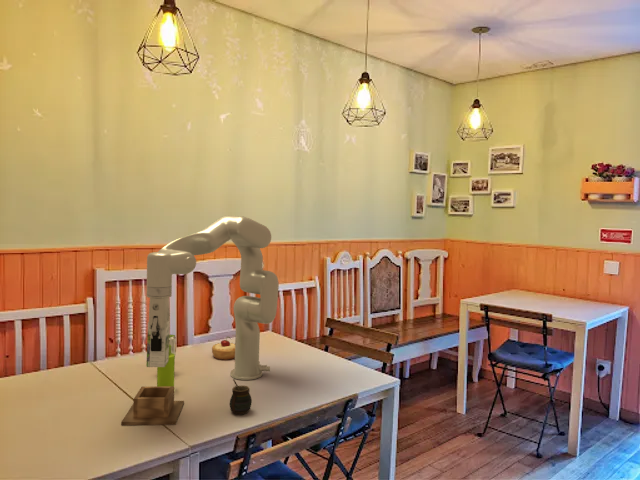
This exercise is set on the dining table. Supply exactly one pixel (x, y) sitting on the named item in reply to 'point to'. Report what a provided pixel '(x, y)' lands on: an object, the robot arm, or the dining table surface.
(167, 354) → the syrup box
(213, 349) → the pastry
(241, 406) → the mate gourd
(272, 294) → the robot arm
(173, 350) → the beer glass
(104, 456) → the dining table surface
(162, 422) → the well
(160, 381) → the soap dispenser
